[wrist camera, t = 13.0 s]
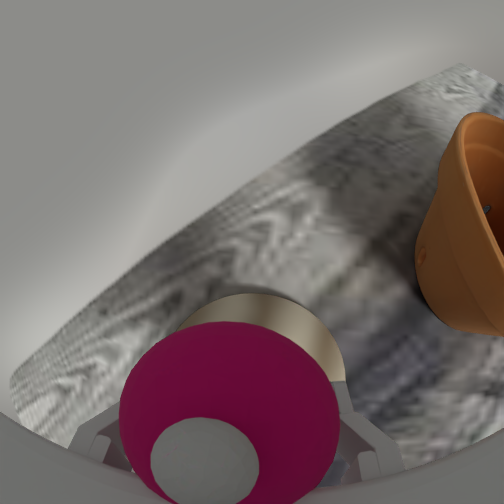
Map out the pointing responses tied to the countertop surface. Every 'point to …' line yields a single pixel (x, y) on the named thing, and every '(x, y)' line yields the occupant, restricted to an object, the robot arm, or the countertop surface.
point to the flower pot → (467, 230)
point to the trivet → (277, 325)
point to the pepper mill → (229, 417)
